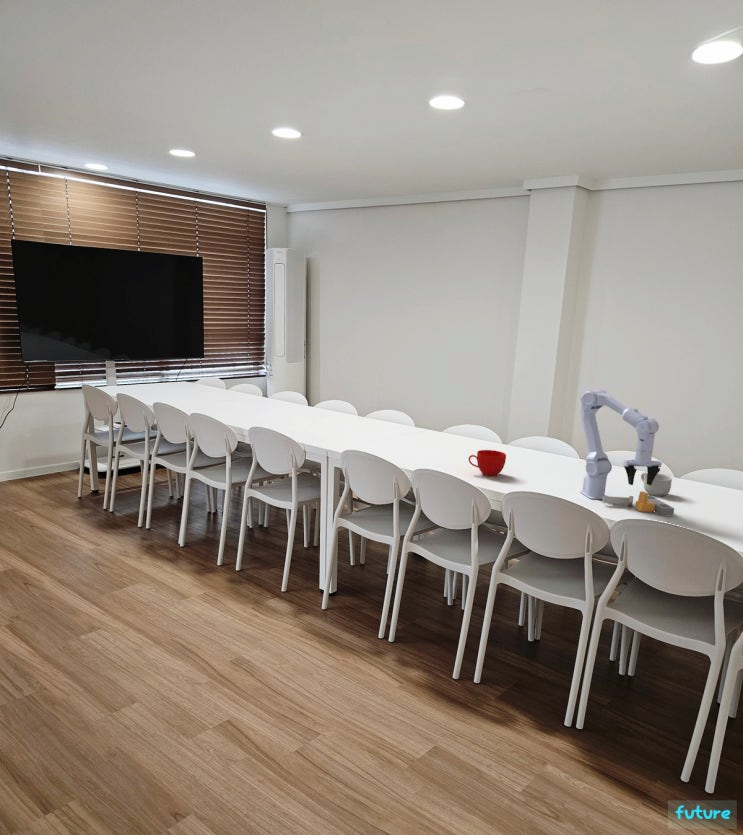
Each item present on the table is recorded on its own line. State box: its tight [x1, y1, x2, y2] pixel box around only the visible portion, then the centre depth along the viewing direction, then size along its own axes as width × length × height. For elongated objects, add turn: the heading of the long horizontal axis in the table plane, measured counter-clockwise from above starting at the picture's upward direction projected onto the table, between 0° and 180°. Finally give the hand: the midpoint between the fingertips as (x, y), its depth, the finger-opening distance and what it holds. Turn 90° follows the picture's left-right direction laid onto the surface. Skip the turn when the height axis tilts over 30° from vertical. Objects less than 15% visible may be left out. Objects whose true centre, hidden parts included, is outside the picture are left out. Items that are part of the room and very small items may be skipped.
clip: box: [602, 495, 634, 508], centre depth 244 cm, size 12×2×4 cm, turn 91°
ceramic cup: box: [468, 449, 507, 477], centre depth 279 cm, size 13×17×10 cm
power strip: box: [637, 494, 675, 517], centre depth 243 cm, size 16×5×3 cm, turn 8°
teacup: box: [640, 472, 673, 497], centre depth 265 cm, size 14×11×8 cm
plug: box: [635, 491, 655, 513], centre depth 240 cm, size 4×6×7 cm
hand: (639, 484), depth 238 cm, fingers open, 7 cm apart
